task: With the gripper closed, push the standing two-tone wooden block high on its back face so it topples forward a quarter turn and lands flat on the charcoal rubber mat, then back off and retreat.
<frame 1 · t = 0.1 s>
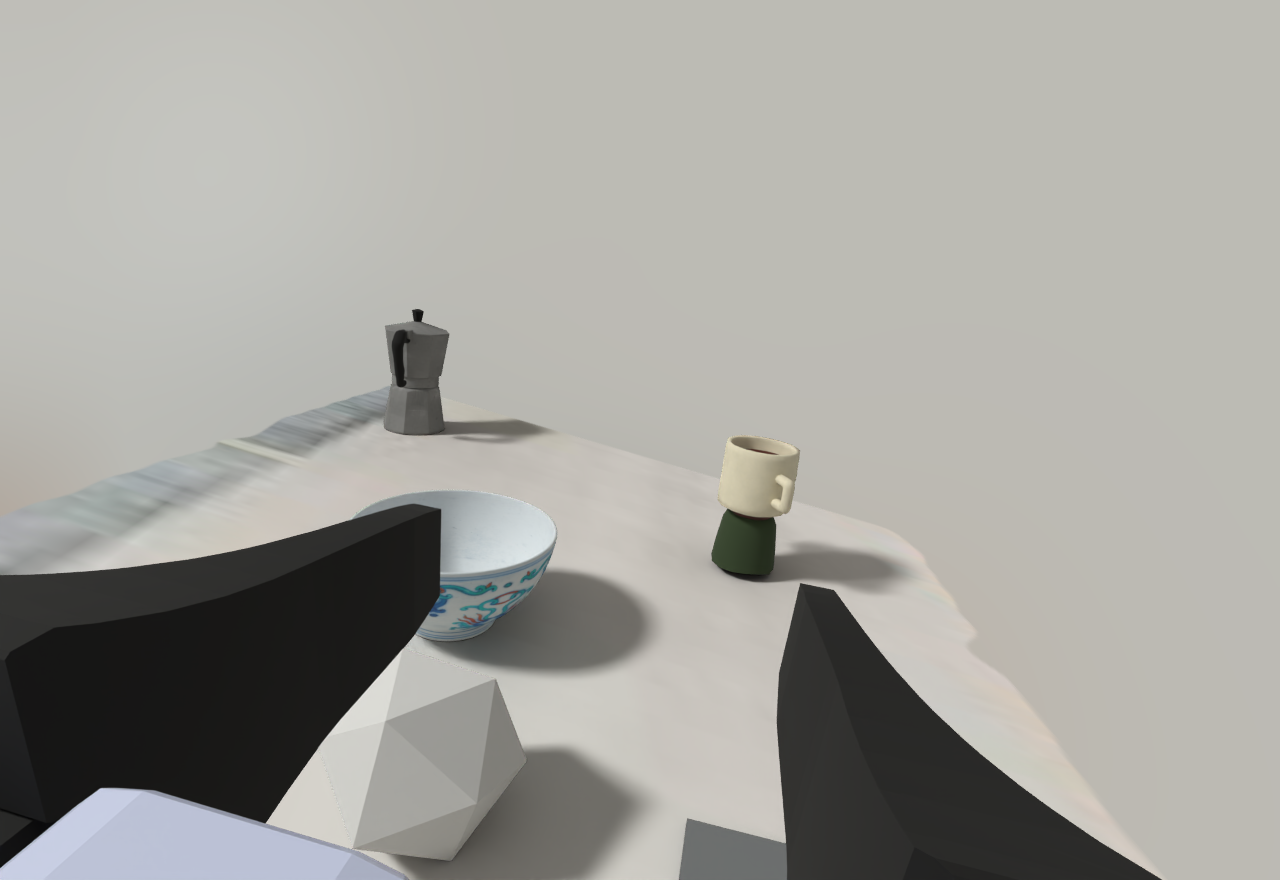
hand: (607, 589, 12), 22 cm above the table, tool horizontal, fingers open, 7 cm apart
die: (423, 819, 32), on the table
chinaware: (451, 619, 49), on the table
character mug: (740, 569, 64), on the table
coffeepot: (411, 430, 96), on the table
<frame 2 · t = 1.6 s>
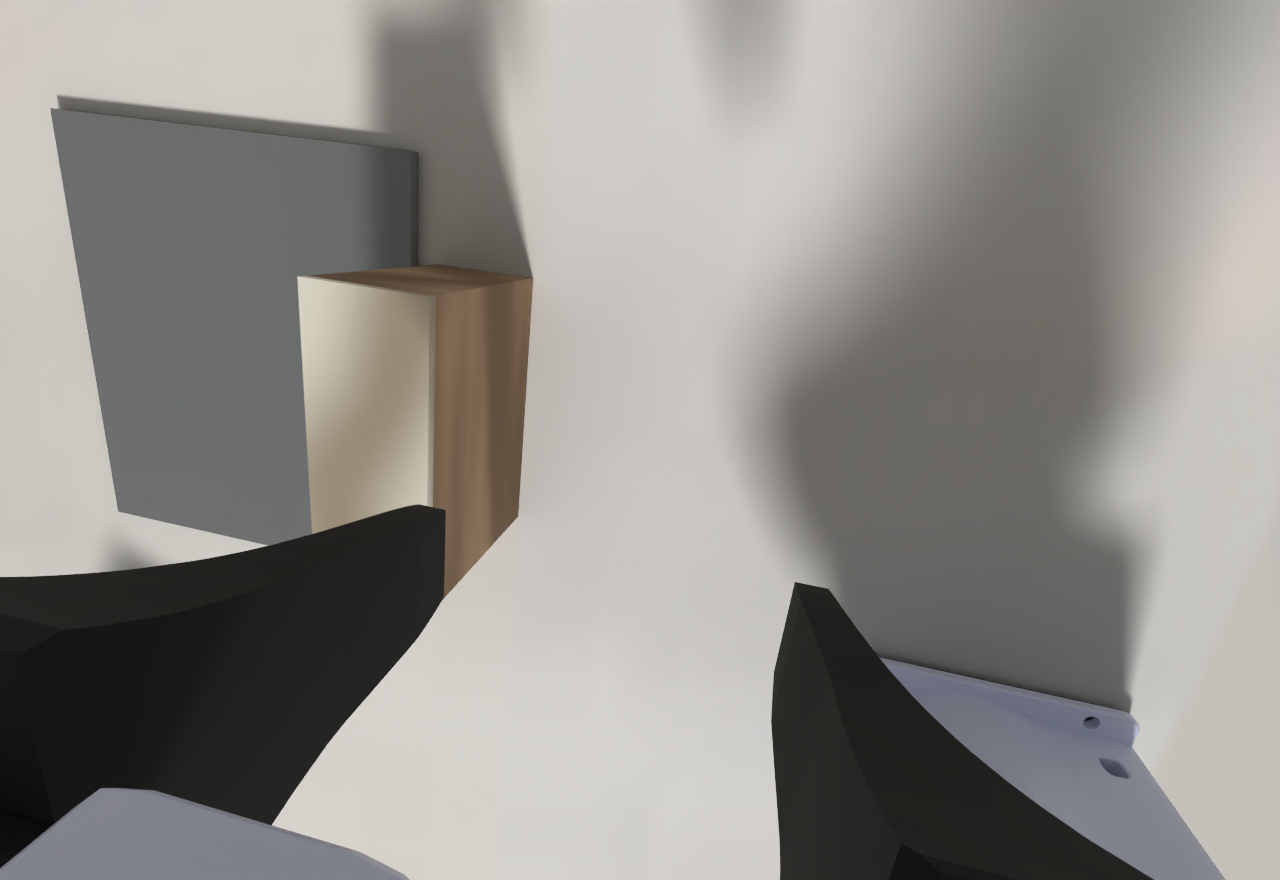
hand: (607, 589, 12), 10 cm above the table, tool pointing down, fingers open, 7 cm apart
mat: (250, 356, 24), on the table
two-tone wooden block: (480, 396, 23), on the table
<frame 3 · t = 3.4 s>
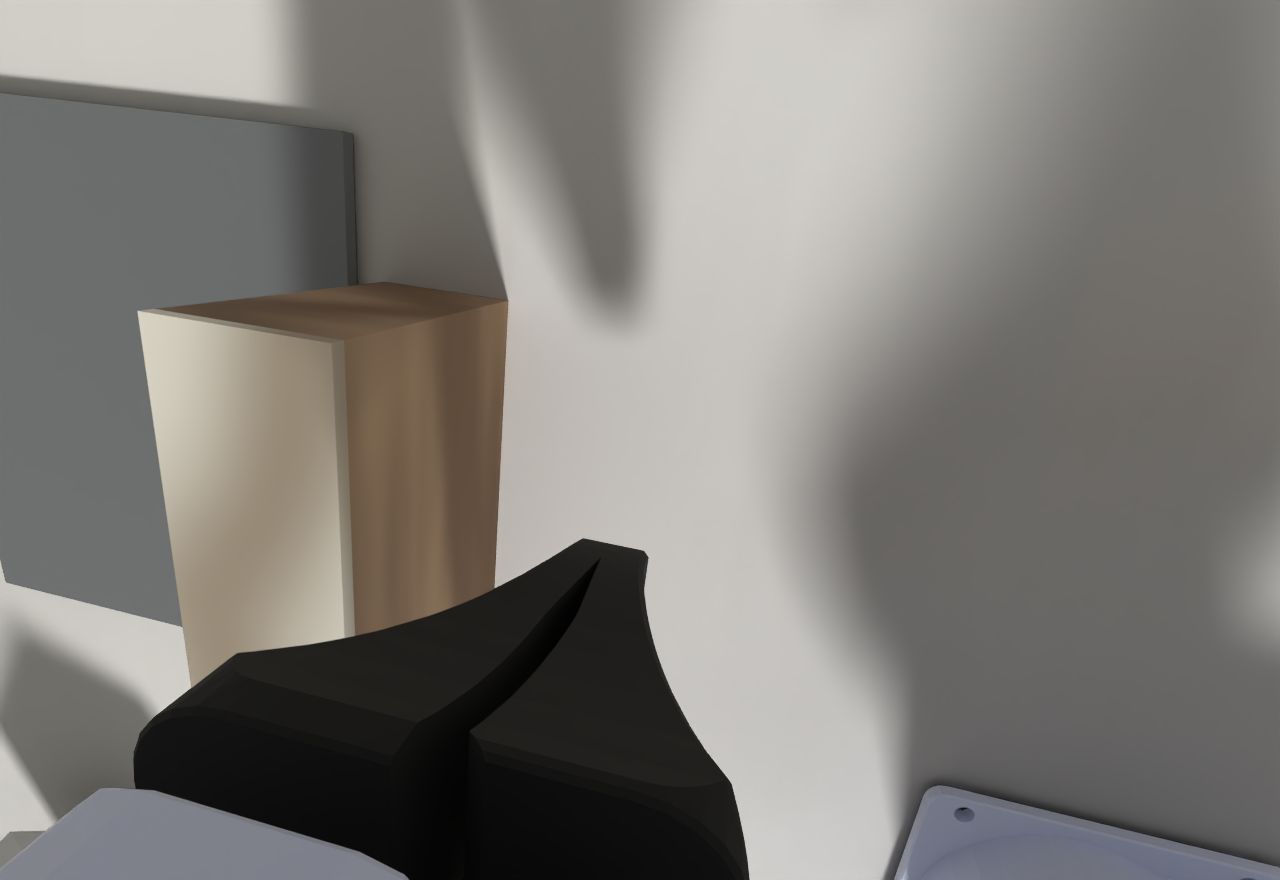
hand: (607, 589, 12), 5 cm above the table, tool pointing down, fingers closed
die: (155, 854, 27), on the table
mat: (153, 397, 19), on the table
two-tone wooden block: (443, 451, 18), on the table
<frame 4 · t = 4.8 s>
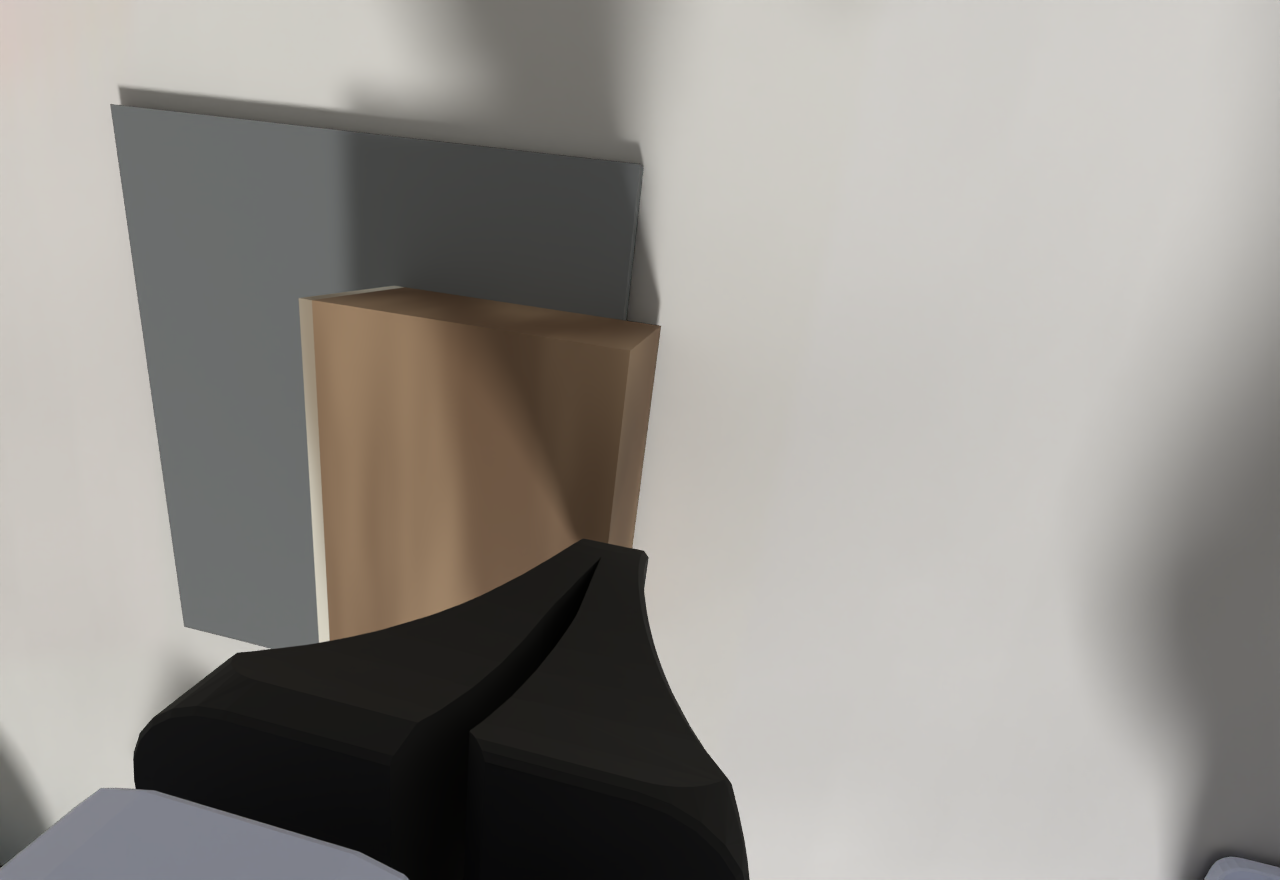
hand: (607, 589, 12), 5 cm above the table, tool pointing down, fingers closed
mat: (373, 438, 18), on the table
two-tone wooden block: (624, 524, 15), point 2 cm above the table, tilted 90°, touching mat
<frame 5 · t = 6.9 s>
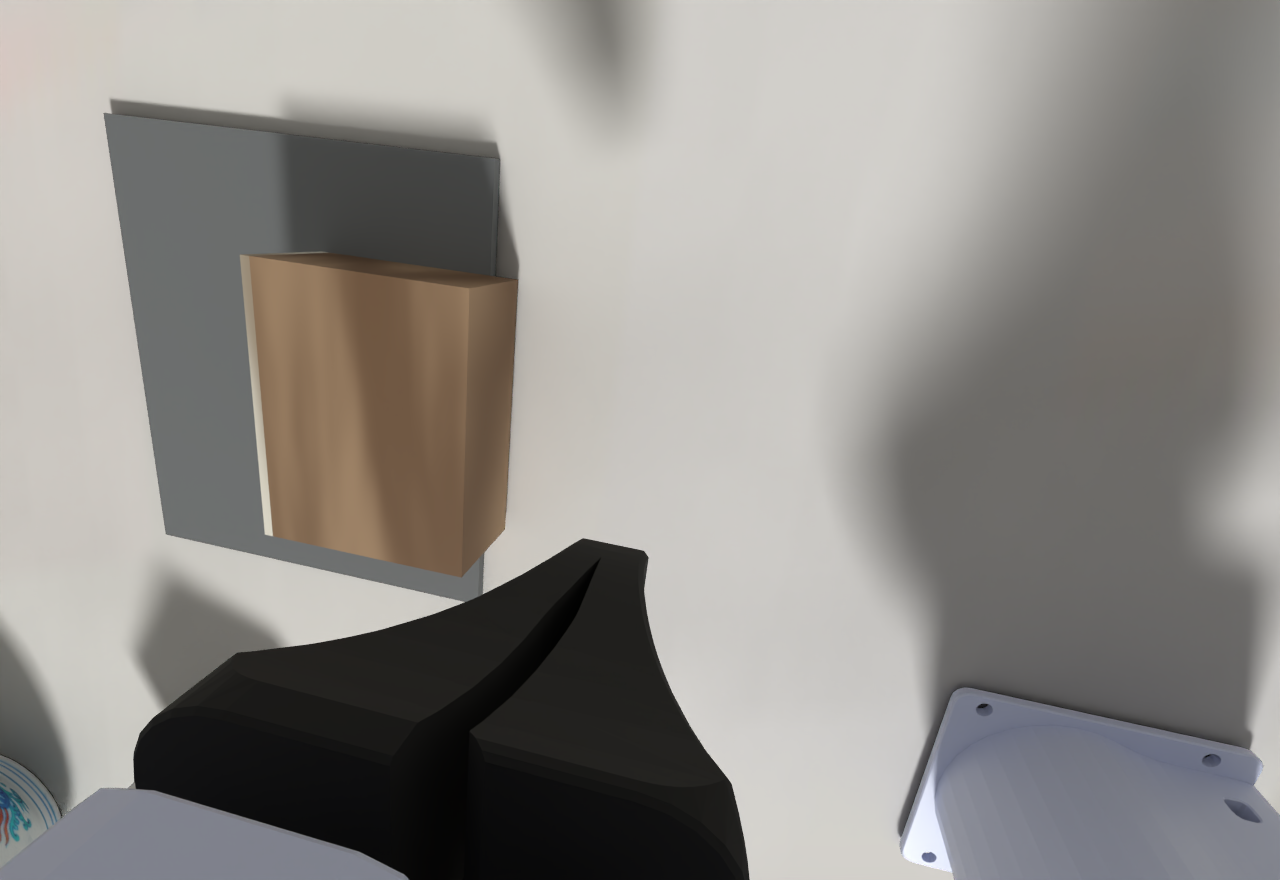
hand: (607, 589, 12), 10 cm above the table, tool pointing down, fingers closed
mat: (311, 374, 23), on the table
chinaware: (15, 796, 36), on the table
two-tone wooden block: (489, 427, 20), point 2 cm above the table, tilted 90°, touching mat
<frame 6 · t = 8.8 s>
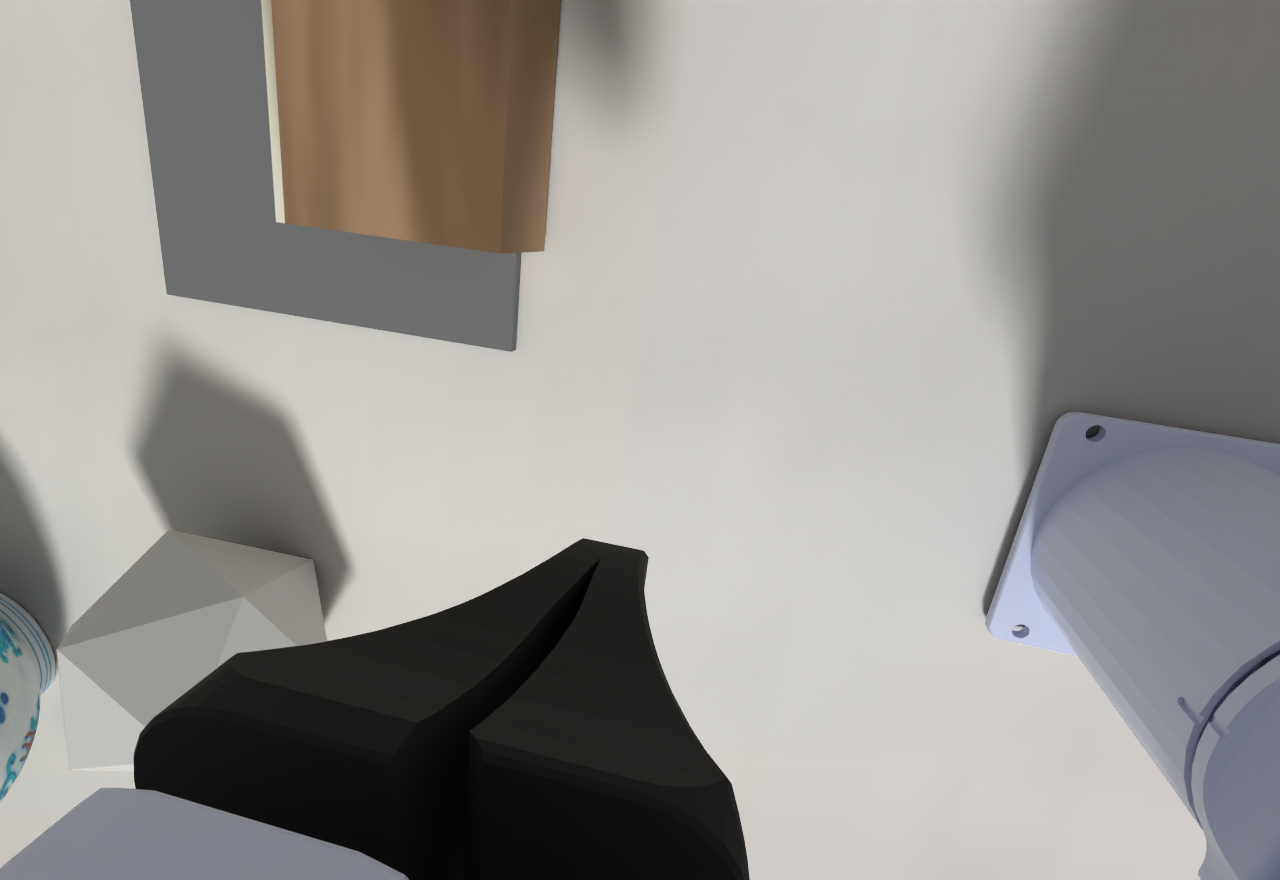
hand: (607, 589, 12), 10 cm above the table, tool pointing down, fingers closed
die: (282, 596, 28), on the table
mat: (328, 77, 21), on the table
chinaware: (7, 639, 33), on the table
two-tone wooden block: (533, 84, 17), point 2 cm above the table, tilted 90°, touching mat
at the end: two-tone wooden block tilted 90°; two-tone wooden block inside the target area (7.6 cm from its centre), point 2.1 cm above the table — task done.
